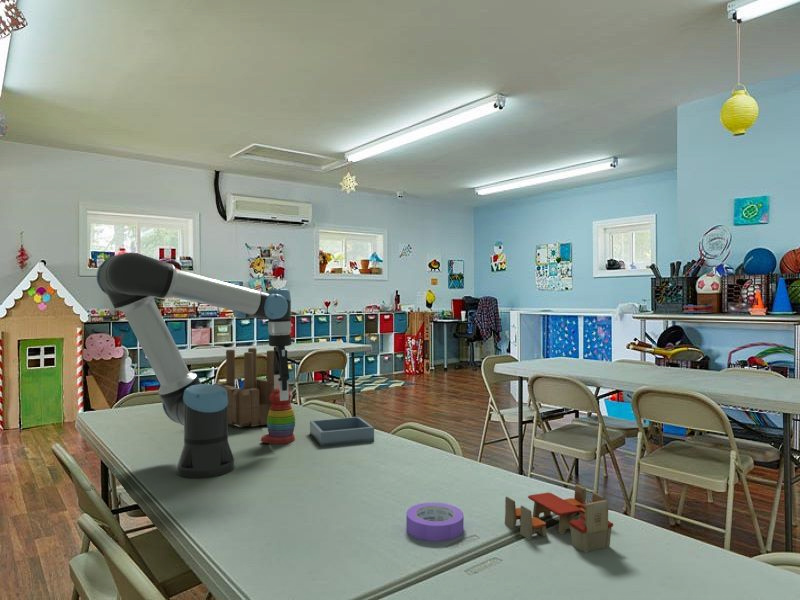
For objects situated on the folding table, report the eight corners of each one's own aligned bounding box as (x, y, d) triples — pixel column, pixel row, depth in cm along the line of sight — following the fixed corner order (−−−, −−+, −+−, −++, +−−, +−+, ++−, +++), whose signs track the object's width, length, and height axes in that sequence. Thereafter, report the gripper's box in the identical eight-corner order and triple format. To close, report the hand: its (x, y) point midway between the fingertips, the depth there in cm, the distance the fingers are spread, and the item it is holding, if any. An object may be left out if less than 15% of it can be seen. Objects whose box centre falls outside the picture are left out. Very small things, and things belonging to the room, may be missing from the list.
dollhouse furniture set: (573, 511, 120) (573, 467, 120) (639, 546, 103) (639, 495, 103) (500, 524, 113) (499, 478, 113) (557, 565, 96) (557, 510, 96)
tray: (374, 440, 180) (374, 427, 180) (321, 446, 174) (320, 432, 174) (358, 428, 197) (358, 416, 197) (310, 433, 190) (309, 420, 190)
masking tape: (474, 530, 110) (474, 511, 110) (440, 550, 102) (440, 530, 102) (430, 515, 118) (430, 497, 118) (394, 532, 110) (394, 514, 110)
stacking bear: (283, 434, 189) (283, 384, 189) (302, 439, 183) (302, 387, 183) (258, 441, 181) (257, 388, 181) (277, 446, 174) (276, 391, 174)
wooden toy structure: (241, 428, 198) (241, 355, 198) (207, 416, 220) (207, 349, 220) (295, 419, 214) (294, 350, 214) (258, 408, 236) (257, 346, 236)
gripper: (297, 336, 171) (298, 402, 172) (285, 331, 195) (286, 389, 195) (273, 337, 169) (275, 404, 169) (264, 332, 192) (265, 391, 192)
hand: (281, 396), depth 182 cm, fingers open, 13 cm apart
